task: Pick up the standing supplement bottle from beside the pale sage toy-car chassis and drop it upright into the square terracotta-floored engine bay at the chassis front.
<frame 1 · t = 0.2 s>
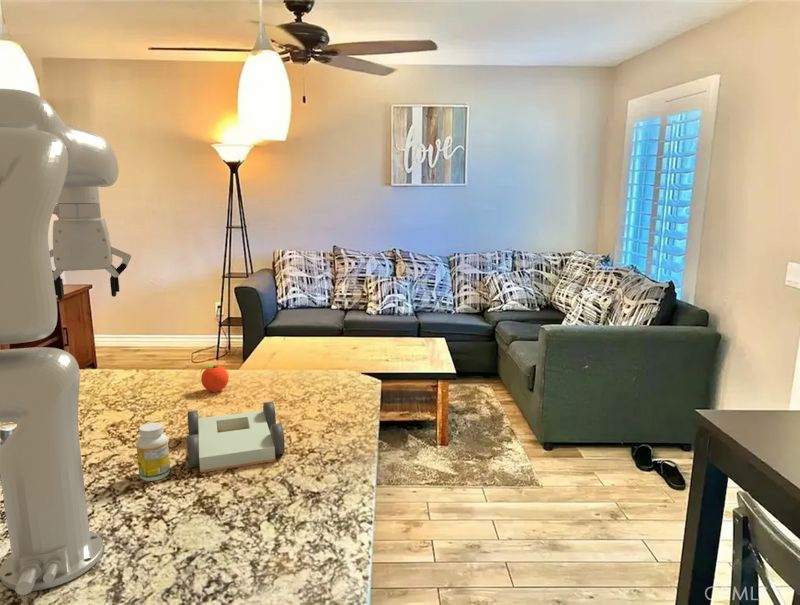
hand: (88, 297, 116), 31 cm above the countertop, tool pointing down, fingers open, 9 cm apart
tomato: (214, 391, 151), on the countertop
chassis: (235, 445, 119), on the countertop
supplement bottle: (155, 475, 107), on the countertop
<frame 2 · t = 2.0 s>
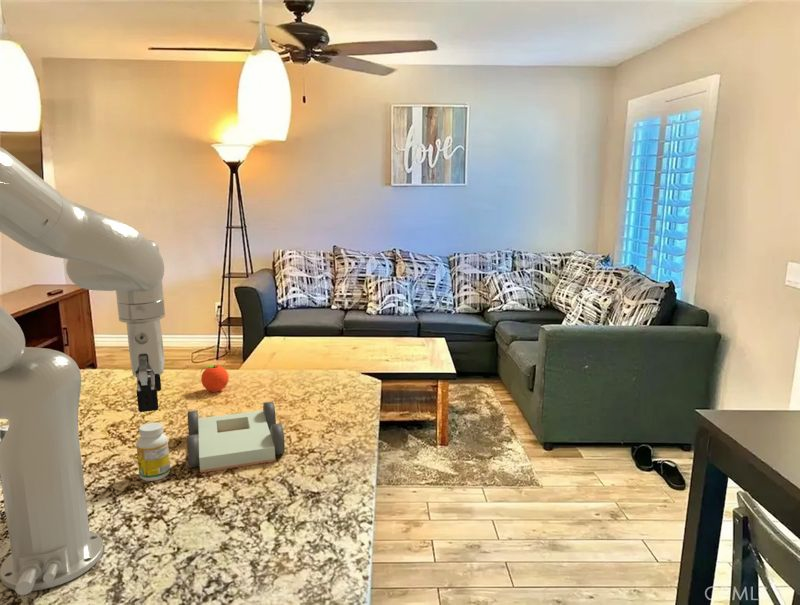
hand: (150, 400, 104), 14 cm above the countertop, tool pointing down, fingers open, 9 cm apart
nothing on the countertop moved.
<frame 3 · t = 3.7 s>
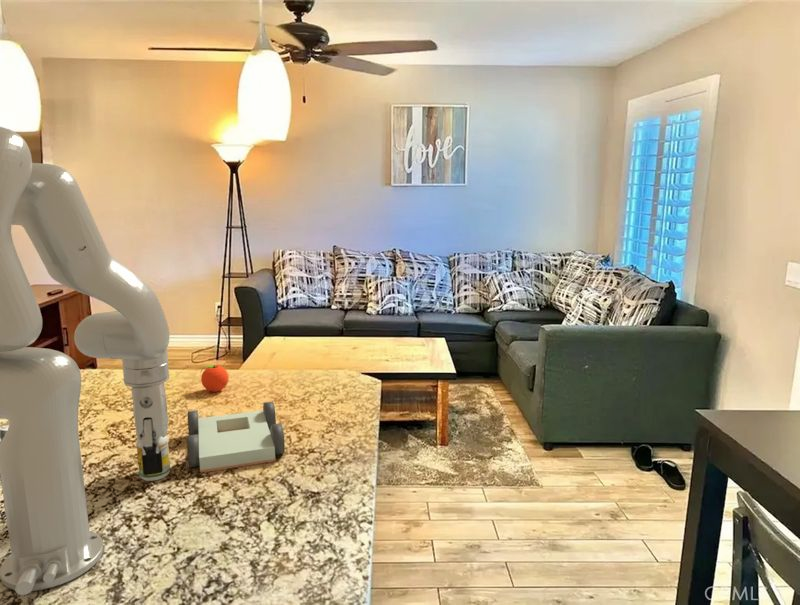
hand: (154, 464, 106), 2 cm above the countertop, tool pointing down, fingers closed on supplement bottle, 5 cm apart
supplement bottle: (155, 475, 107), on the countertop, touching gripper
everything else where it was.
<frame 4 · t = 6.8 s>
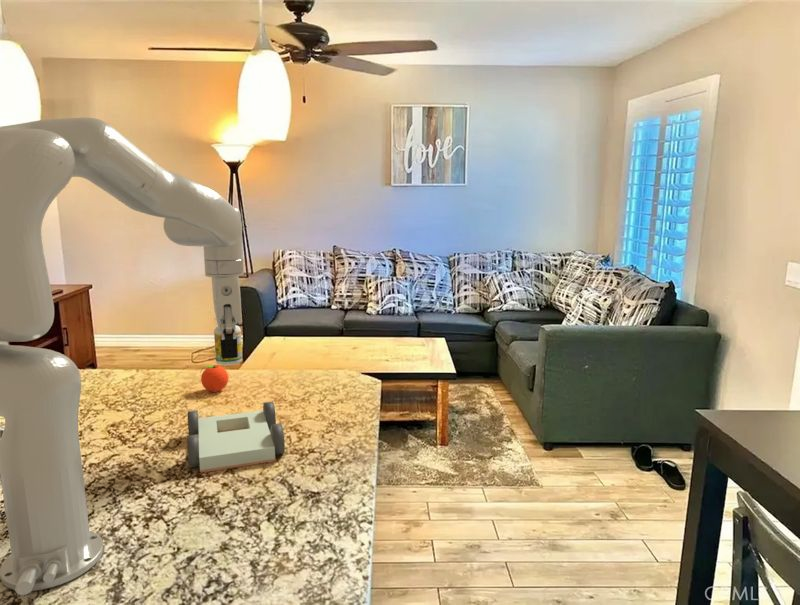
hand: (228, 352, 119), 19 cm above the countertop, tool pointing down, fingers closed on supplement bottle, 5 cm apart
supplement bottle: (229, 362, 119), point 17 cm above the countertop, touching gripper
everything else where it was.
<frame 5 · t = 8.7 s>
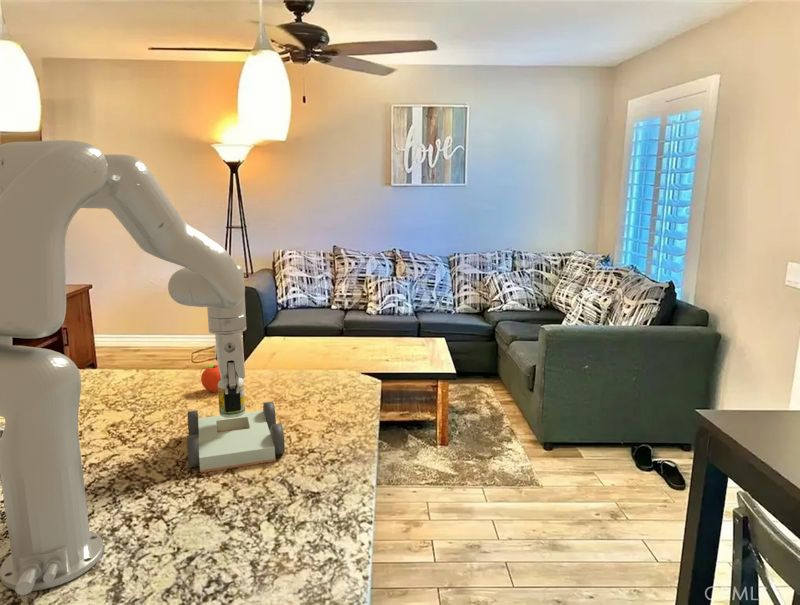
hand: (232, 404, 121), 7 cm above the countertop, tool pointing down, fingers closed on supplement bottle, 5 cm apart
supplement bottle: (232, 414, 122), point 5 cm above the countertop, touching gripper
everything else where it was.
when the fingers open (4 cm above the countertop, at t = 10.2 s): supplement bottle drops 2 cm, resting on chassis.
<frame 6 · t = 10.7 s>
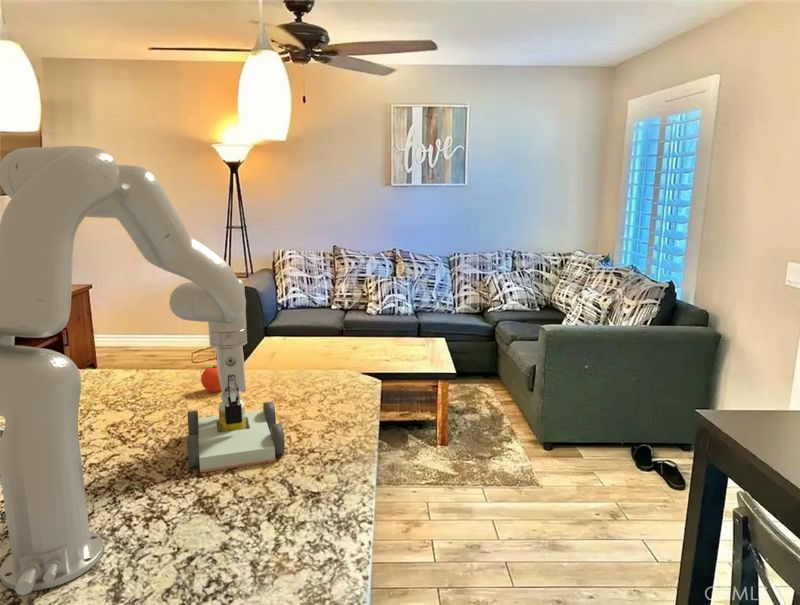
hand: (232, 414, 122), 5 cm above the countertop, tool pointing down, fingers open, 9 cm apart
supplement bottle: (233, 436, 122), resting on chassis
everything else where it was.
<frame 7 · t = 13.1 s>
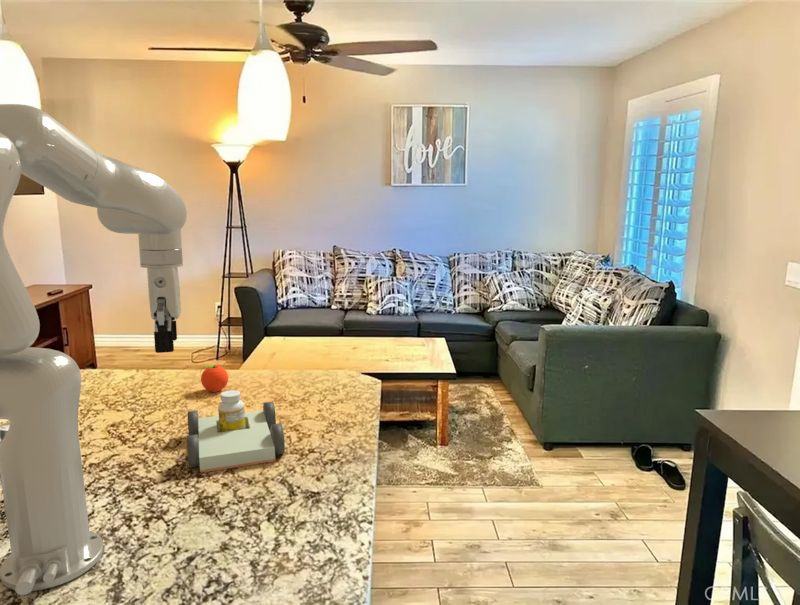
hand: (166, 346, 111), 22 cm above the countertop, tool pointing down, fingers open, 9 cm apart
nothing on the countertop moved.
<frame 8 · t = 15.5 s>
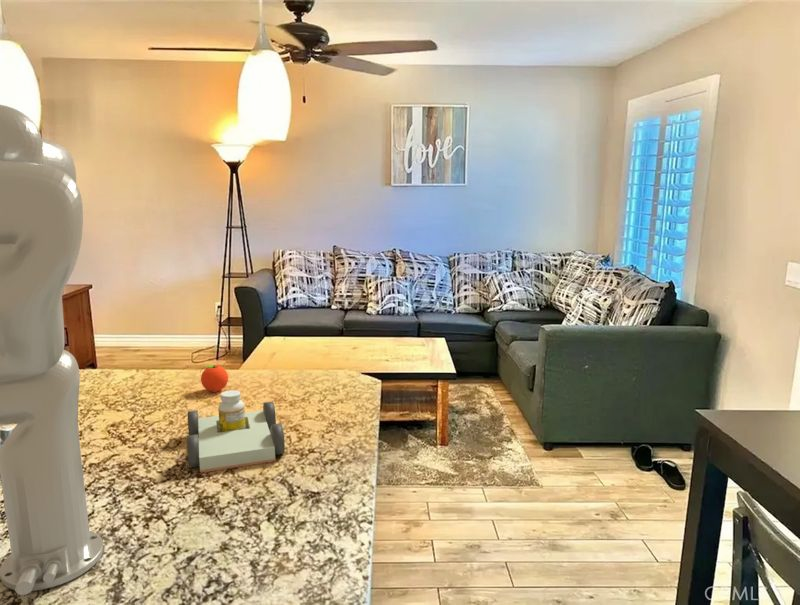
hand: (30, 331, 98), 28 cm above the countertop, tool pointing down, fingers open, 9 cm apart
nothing on the countertop moved.
at the end: supplement bottle 0.1 cm from the target spot on the chassis, point 0.3 cm above the chassis's base; supplement bottle tilted 0°; the gripper is holding nothing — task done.
